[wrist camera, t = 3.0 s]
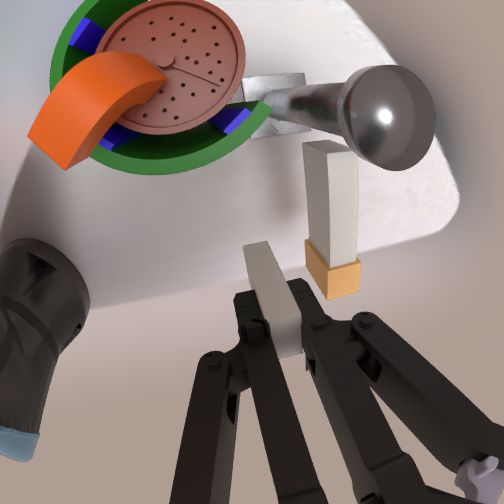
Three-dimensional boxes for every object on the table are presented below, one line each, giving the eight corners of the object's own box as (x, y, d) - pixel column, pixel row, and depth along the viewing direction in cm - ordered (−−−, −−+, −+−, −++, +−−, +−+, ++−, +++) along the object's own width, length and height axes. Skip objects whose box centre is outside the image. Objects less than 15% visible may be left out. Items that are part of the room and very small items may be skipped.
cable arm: (330, 138, 18) (364, 150, 14) (333, 259, 24) (358, 291, 20) (296, 142, 18) (324, 155, 14) (306, 266, 23) (327, 300, 20)
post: (250, 138, 26) (337, 199, 10) (240, 79, 22) (322, 38, 7) (308, 129, 26) (443, 182, 11) (301, 73, 23) (442, 57, 8)
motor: (249, 83, 23) (372, 48, 6) (193, 157, 26) (190, 278, 9) (162, 29, 18) (104, -93, 1) (108, 106, 21) (-46, 136, 4)
